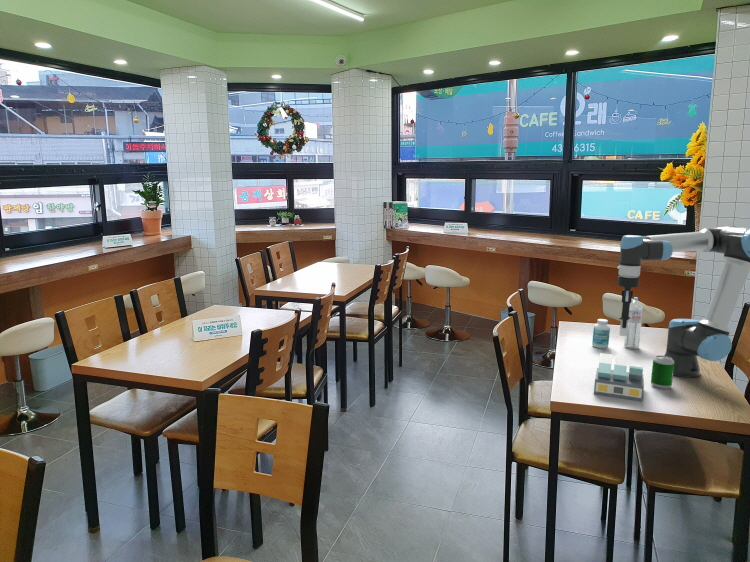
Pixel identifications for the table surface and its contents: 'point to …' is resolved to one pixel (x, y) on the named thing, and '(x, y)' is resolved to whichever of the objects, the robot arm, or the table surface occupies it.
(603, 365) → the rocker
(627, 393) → the switch unit
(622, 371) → the rocker
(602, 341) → the pill bottle
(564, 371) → the table surface
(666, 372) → the soda can
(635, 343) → the water bottle
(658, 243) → the robot arm
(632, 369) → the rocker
